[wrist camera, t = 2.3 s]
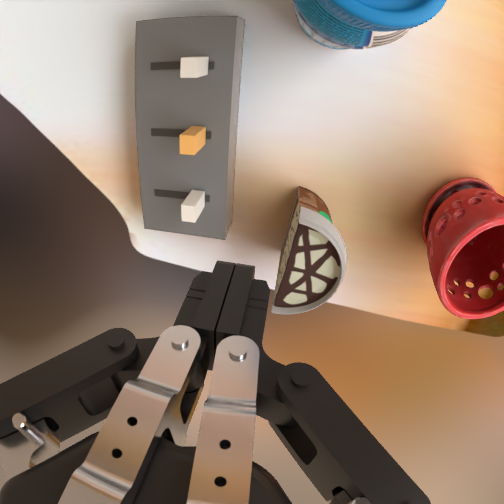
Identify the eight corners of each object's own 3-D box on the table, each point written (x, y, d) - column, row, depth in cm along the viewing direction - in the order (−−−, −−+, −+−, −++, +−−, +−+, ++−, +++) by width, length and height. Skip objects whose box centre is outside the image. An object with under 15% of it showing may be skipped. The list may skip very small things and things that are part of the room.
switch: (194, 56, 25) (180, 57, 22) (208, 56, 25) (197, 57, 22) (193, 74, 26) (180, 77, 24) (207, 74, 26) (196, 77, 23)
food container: (323, 271, 42) (325, 327, 34) (278, 260, 42) (270, 315, 34) (353, 188, 35) (368, 234, 27) (301, 174, 35) (300, 217, 27)
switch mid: (191, 125, 29) (179, 135, 27) (205, 126, 29) (194, 135, 26) (191, 143, 30) (179, 154, 28) (205, 144, 30) (194, 155, 28)
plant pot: (468, 145, 29) (522, 189, 20) (509, 219, 33) (553, 273, 23) (390, 213, 36) (416, 277, 26) (441, 274, 40) (467, 338, 30)
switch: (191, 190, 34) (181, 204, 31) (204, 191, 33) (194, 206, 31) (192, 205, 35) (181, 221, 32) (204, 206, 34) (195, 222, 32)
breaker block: (150, 23, 27) (133, 21, 24) (244, 20, 26) (237, 16, 23) (154, 212, 41) (142, 228, 38) (232, 222, 40) (224, 240, 37)
